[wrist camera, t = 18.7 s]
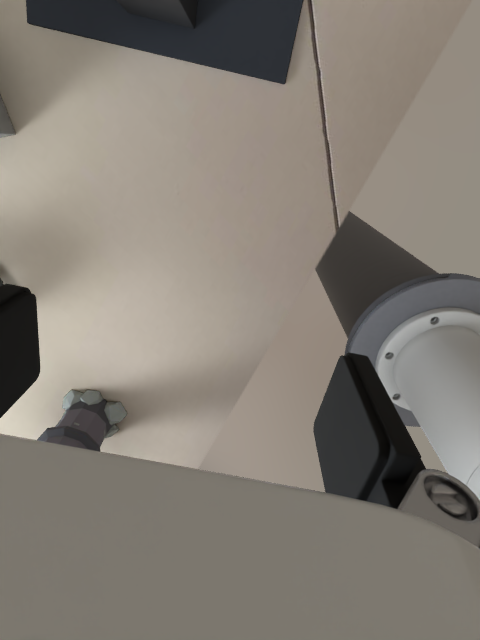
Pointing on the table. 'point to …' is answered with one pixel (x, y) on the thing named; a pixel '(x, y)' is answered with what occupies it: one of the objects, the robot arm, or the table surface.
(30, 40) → the table surface
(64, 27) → the rubber mat
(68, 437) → the model tower
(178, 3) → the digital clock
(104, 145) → the table surface
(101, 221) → the table surface
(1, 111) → the perfume bottle
